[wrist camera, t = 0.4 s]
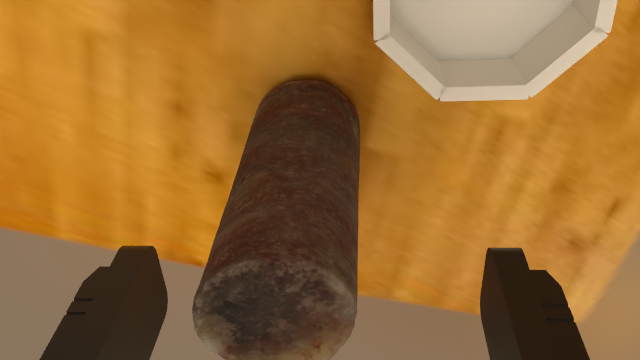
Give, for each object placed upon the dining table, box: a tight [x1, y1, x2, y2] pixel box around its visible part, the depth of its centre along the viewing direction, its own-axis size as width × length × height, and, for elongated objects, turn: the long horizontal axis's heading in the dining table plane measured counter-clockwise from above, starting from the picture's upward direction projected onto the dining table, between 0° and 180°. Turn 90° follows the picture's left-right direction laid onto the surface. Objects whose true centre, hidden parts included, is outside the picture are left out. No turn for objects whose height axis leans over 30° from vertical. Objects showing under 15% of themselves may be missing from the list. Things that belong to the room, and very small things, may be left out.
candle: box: [192, 80, 360, 360], centre depth 34 cm, size 8×7×20 cm
